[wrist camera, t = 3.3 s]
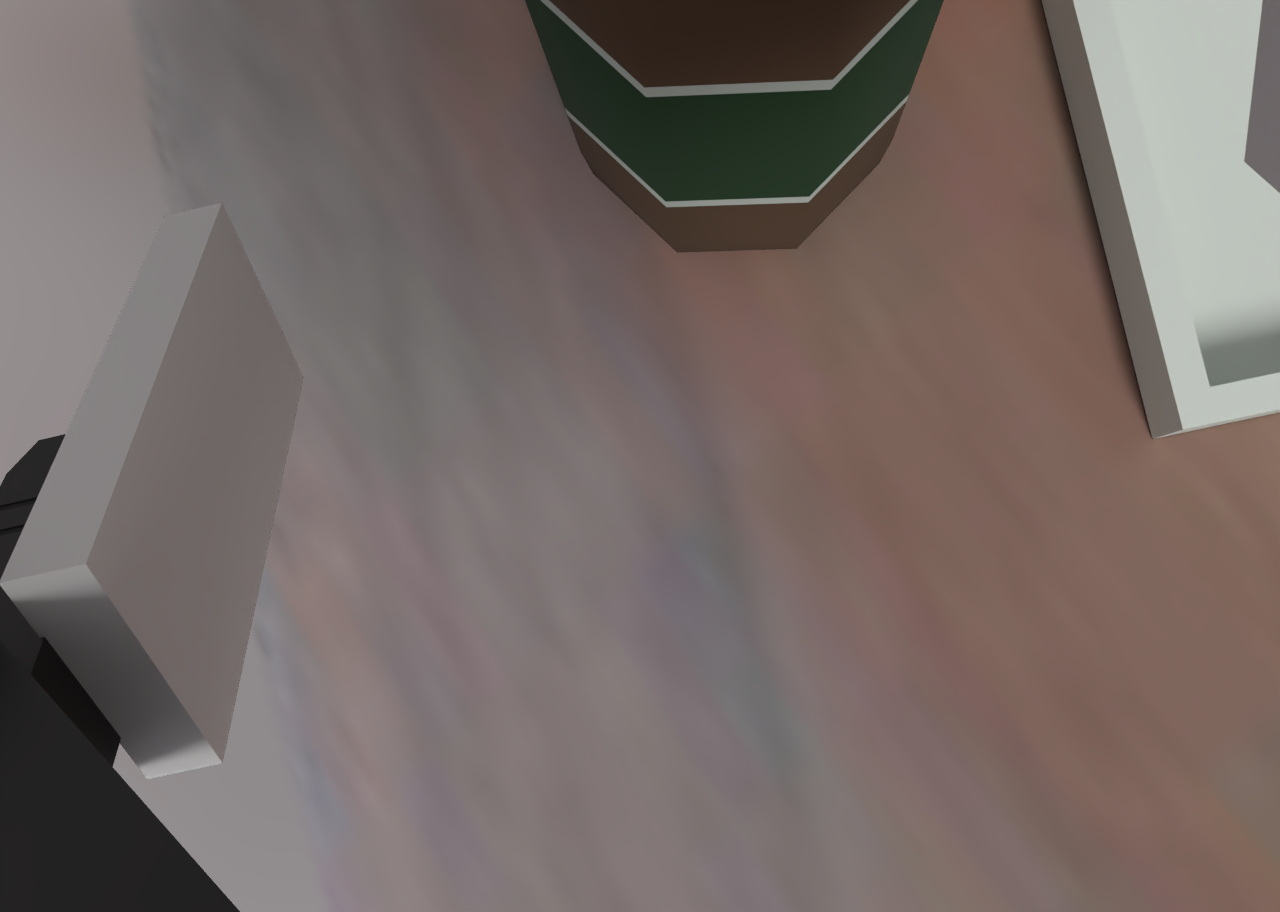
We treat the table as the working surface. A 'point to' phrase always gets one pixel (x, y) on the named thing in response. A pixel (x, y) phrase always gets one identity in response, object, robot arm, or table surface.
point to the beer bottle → (733, 106)
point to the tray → (1179, 198)
